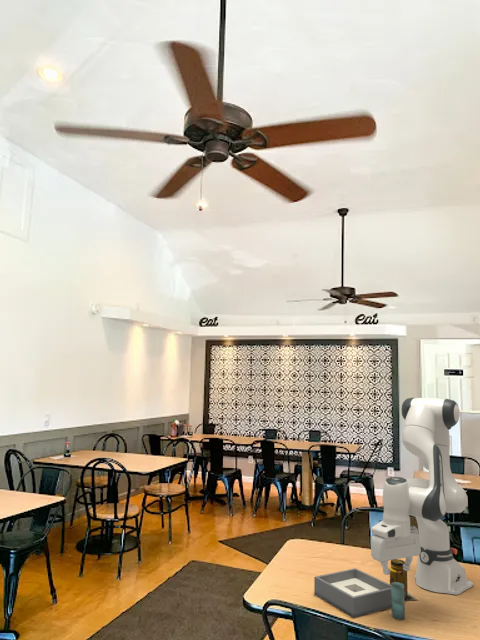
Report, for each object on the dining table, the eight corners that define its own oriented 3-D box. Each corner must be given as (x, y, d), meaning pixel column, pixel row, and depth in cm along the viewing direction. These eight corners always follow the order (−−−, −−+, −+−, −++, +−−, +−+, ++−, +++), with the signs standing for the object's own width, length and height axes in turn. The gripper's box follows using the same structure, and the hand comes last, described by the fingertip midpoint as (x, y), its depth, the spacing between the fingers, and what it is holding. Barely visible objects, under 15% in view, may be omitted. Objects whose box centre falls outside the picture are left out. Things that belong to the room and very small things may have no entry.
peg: (397, 613, 156) (397, 581, 158) (407, 618, 153) (406, 585, 154) (389, 615, 154) (388, 583, 156) (398, 621, 151) (398, 587, 152)
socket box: (355, 585, 179) (355, 568, 180) (396, 606, 162) (396, 587, 163) (314, 594, 169) (314, 576, 170) (353, 618, 152) (353, 598, 153)
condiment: (386, 592, 173) (385, 557, 175) (408, 592, 174) (407, 557, 176) (394, 601, 166) (393, 564, 168) (417, 600, 167) (416, 564, 168)
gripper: (410, 523, 165) (410, 565, 163) (367, 528, 156) (367, 573, 153) (425, 527, 160) (425, 571, 158) (382, 533, 150) (382, 579, 148)
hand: (396, 572), depth 155 cm, fingers open, 8 cm apart
